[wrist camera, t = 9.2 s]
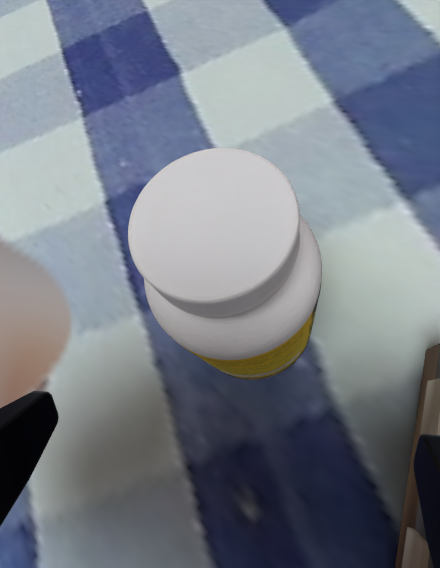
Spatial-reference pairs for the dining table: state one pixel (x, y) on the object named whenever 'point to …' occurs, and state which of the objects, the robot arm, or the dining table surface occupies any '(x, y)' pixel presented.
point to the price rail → (430, 420)
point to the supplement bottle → (228, 261)
